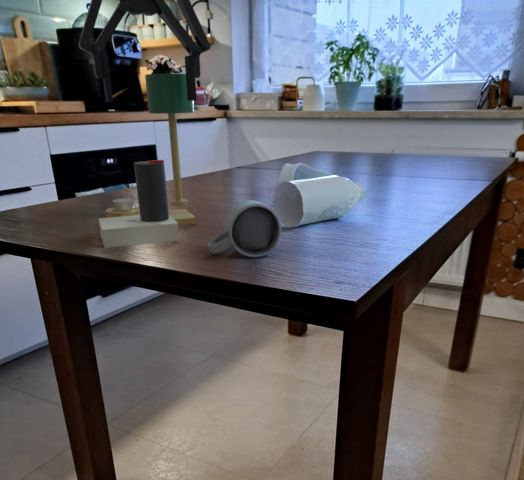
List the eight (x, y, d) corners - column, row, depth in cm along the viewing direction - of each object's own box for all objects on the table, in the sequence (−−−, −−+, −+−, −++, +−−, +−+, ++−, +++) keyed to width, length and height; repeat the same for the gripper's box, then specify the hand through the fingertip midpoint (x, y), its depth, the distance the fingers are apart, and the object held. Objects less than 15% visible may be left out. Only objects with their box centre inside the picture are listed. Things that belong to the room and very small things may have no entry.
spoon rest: (291, 183, 141) (291, 155, 137) (333, 185, 137) (334, 156, 134) (261, 198, 121) (260, 165, 117) (309, 200, 117) (310, 167, 114)
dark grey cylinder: (142, 222, 85) (135, 163, 80) (138, 217, 89) (131, 159, 85) (171, 220, 86) (166, 161, 82) (166, 214, 90) (161, 158, 86)
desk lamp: (162, 209, 94) (148, 73, 85) (155, 202, 101) (142, 75, 91) (204, 206, 97) (196, 73, 87) (195, 199, 104) (186, 75, 94)
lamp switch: (114, 214, 94) (113, 202, 93) (113, 210, 97) (111, 199, 96) (135, 212, 95) (133, 201, 94) (132, 209, 98) (131, 197, 97)
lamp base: (109, 231, 92) (107, 214, 91) (105, 221, 100) (103, 205, 99) (195, 224, 97) (194, 207, 96) (185, 214, 105) (184, 199, 103)
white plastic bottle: (373, 217, 101) (376, 174, 97) (300, 231, 91) (301, 184, 87) (343, 210, 107) (346, 170, 103) (272, 223, 96) (272, 179, 93)
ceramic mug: (272, 242, 84) (271, 193, 80) (282, 256, 77) (281, 203, 73) (206, 247, 82) (203, 197, 79) (210, 261, 75) (206, 207, 72)
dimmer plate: (104, 248, 82) (101, 228, 81) (100, 235, 90) (97, 217, 88) (188, 240, 86) (186, 221, 85) (177, 228, 94) (176, 211, 92)
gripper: (45, -77, 67) (74, 103, 77) (225, -60, 76) (231, 99, 86) (42, -62, 74) (69, 103, 83) (209, -48, 82) (216, 99, 92)
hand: (152, 101), depth 84 cm, fingers open, 13 cm apart
